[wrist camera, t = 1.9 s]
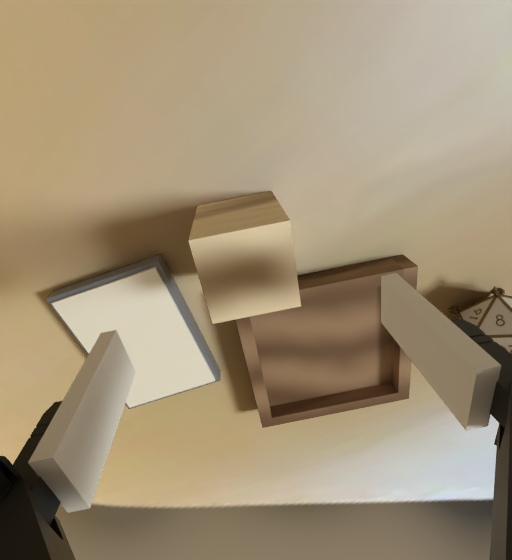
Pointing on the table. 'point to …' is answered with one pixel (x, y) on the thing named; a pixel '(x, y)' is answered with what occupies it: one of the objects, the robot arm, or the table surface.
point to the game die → (492, 317)
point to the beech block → (245, 257)
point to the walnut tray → (328, 346)
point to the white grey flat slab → (141, 327)
